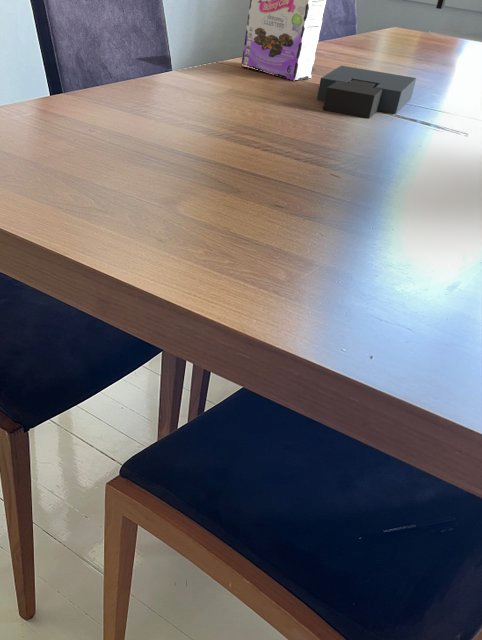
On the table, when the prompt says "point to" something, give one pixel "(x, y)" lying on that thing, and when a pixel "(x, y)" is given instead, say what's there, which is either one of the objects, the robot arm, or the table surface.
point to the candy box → (283, 36)
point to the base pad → (393, 86)
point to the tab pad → (353, 98)
